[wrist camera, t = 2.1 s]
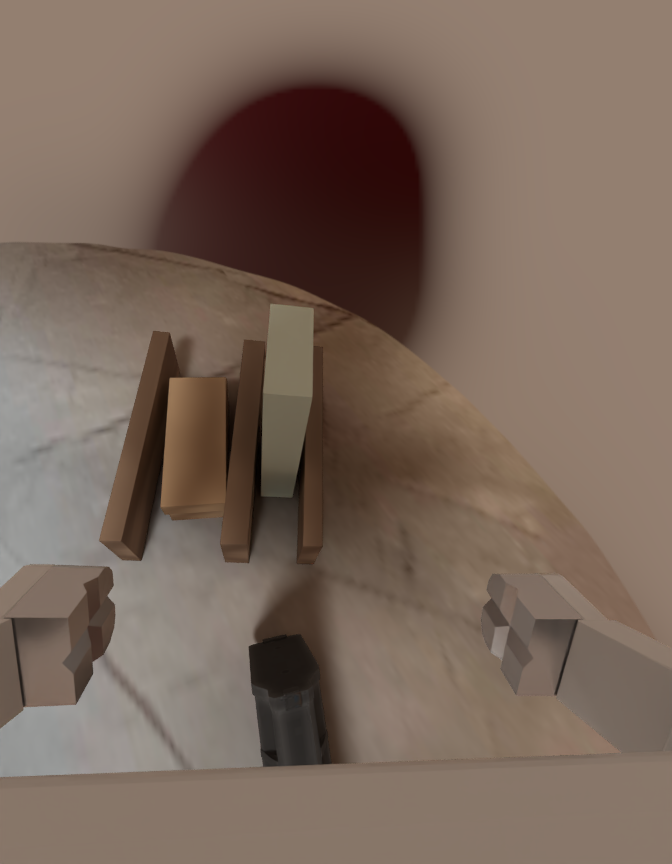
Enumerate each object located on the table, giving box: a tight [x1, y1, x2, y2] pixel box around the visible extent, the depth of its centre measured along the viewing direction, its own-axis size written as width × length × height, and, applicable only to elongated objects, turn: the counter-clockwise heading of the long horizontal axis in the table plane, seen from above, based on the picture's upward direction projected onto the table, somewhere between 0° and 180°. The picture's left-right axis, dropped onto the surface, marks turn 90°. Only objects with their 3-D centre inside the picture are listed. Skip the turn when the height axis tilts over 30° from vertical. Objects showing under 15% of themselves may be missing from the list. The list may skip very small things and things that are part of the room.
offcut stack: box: [160, 377, 229, 520], centre depth 32 cm, size 4×11×4 cm, turn 7°
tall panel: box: [261, 304, 314, 498], centre depth 28 cm, size 2×6×14 cm, turn 1°
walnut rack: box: [99, 331, 323, 564], centre depth 32 cm, size 13×16×5 cm
